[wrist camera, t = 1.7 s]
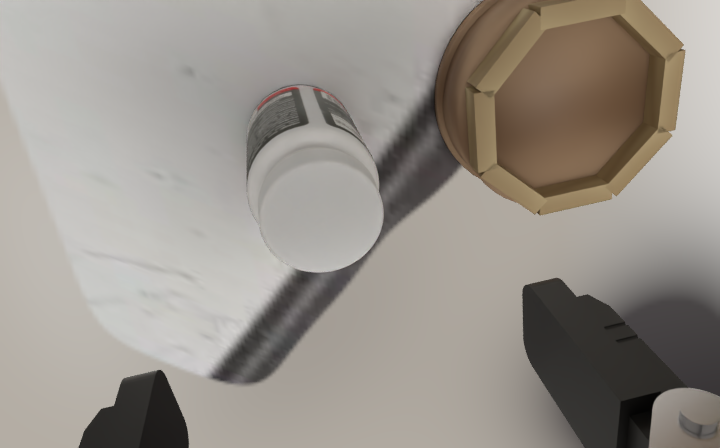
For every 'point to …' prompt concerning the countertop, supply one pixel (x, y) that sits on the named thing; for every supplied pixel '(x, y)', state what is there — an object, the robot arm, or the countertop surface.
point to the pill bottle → (311, 181)
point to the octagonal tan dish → (558, 97)
